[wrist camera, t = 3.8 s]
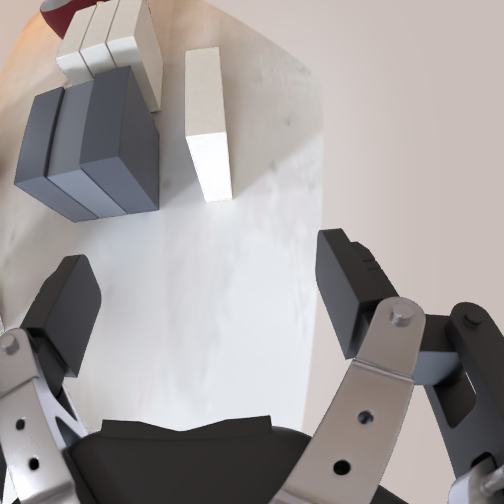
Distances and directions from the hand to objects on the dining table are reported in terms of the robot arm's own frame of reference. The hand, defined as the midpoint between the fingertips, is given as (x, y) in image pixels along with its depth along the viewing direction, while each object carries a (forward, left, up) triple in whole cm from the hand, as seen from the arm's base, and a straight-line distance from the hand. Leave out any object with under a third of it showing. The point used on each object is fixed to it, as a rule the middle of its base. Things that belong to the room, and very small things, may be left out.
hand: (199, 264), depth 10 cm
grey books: (-16, +6, -19) cm, 25 cm away
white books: (-21, +17, -19) cm, 33 cm away
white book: (-7, +12, -19) cm, 23 cm away
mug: (-36, +26, -19) cm, 49 cm away
